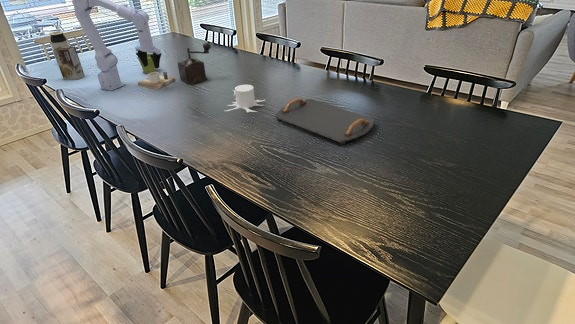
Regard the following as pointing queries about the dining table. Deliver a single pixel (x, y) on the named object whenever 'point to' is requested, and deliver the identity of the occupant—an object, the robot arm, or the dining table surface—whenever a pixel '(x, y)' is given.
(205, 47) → the manual coffee grinder
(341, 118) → the serving board
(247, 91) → the tree stump
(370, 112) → the dining table surface
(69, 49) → the coffee box
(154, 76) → the sleeve
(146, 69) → the plant pot
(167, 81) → the pin board
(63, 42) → the travel mug
